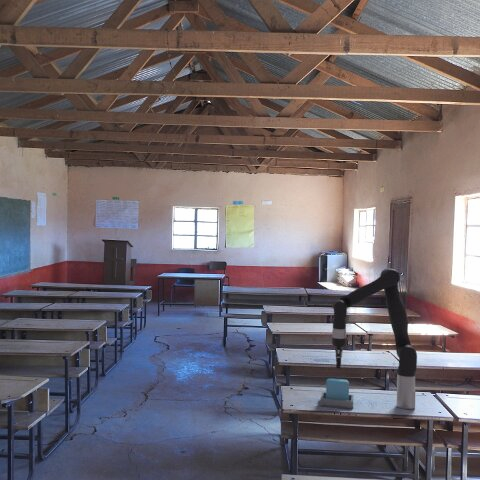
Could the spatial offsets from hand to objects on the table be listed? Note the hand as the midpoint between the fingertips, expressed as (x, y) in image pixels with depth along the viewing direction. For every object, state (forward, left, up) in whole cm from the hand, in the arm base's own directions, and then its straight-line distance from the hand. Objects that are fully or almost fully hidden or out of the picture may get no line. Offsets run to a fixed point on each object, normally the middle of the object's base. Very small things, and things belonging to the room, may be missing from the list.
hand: (338, 366), depth 272 cm
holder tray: (0, +1, -20) cm, 20 cm away
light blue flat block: (0, +1, -20) cm, 20 cm away
